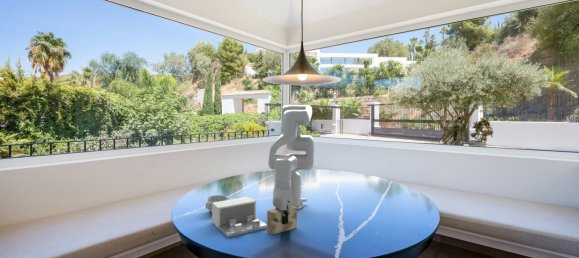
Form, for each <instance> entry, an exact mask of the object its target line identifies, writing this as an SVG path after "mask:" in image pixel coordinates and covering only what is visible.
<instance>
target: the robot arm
mask: <svg viewBox="0 0 579 258" xmlns="http://www.w3.org/2000/svg"><path fill="white" fill-rule="evenodd" d="M281 114H282V121H281V128H280V135H279V137H278V138H277V139H275V140H274V142H273V143H272V144H271V146H270V148H269V155H268V163H267V164H268V167H269V169H270V170H273V171H274V187H273V195H272V206H273V207H275V208H274V209H280V210H282V212H283V216H282V224H283V225H284V224H288V215H289V214H290V213H291V212H292V210H291V206H294V207H296V208H297V210H300V209H303V208H304V204H303V203H305V202H308V199H307V198H306V197H304V198H303V197H301V195H302V194H301V193H302V178H301V177H302V175H301V174H300V173H299V171H312V169H313V168H314V161H315V160H314V159H315V157H314V152H315V149H314V148H315V143H314V137H312V135H308V134H307V135H306V134H304V135H303V134H302V127H307V126H308V125H310V124H311V123H310V122H311V119H312V116H313V108H312V106H311V105H309V104H287V105H283V106H282V108H281ZM284 146H286V148H287V150H288V151H291V152H292V153H287V154H277V152H278V150H279V149H280V148H282V147H284ZM293 152H295V153H293ZM296 152H303V153H296ZM286 208H287V209H286ZM285 211H286V212H285Z"/></svg>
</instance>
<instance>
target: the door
mask: <svg viewBox="0 0 579 258" xmlns="http://www.w3.org/2000/svg"><path fill="white" fill-rule="evenodd" d="M286 209H287V208H286ZM291 210H292V212H291V213H290V214H289V215H288V224H284V225H283V224H282V216H283V212H282V210H280V209H276V208H273V209H269V210H267V211H266V212H267V213H266V214H267V219H266V221H267V223H266V225H267V228H266V229H267V230H266V231H267V233H269V234H270V235H276V234H279V233H284V232H287V231H291V230H294V229H297V228H298V224H297V223H298V222H297V221H298V209H297V208H296V207H294V206H291ZM285 212H286V211H285Z"/></svg>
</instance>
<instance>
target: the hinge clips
mask: <svg viewBox="0 0 579 258" xmlns="http://www.w3.org/2000/svg"><path fill="white" fill-rule="evenodd" d="M217 229H218V230H219V231H220V232H221V233H222V234H223V235H224V236H226V238H229V239H230V238H233V237H237V236H241V235H245V234H250V233H253V232H257V231H261V230H265V229H267V223H265V222H264V221H262V220H261V219H259V218H258V217H257V216H256V217H254V218H253V215H249V216H246V219H245V220H241V221H236V219H235V218H234V219H230V220H229V223H227V224H222V225H218V228H217Z"/></svg>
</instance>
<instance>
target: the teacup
mask: <svg viewBox="0 0 579 258" xmlns="http://www.w3.org/2000/svg"><path fill="white" fill-rule="evenodd" d="M225 200H229V198H228V197H227V196H226V195H219V194H217V195H211V196H208V197H207V202H206V203H205V208H206V210H208V211H210V213H212V203H213V202H219V201H225Z"/></svg>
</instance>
